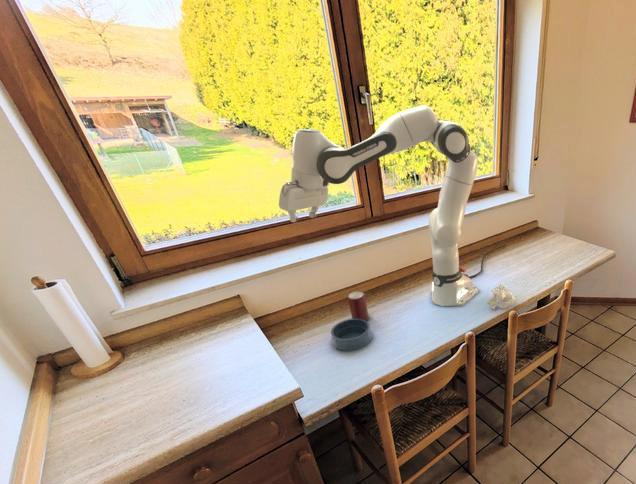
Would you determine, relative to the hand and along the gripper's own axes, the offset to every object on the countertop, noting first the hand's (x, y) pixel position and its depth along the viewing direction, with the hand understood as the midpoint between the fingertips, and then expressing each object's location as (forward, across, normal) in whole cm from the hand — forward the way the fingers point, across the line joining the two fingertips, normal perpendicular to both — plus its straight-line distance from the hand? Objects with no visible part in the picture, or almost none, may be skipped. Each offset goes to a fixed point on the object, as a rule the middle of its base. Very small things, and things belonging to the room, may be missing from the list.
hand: (303, 219), depth 126 cm
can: (+37, +8, -23) cm, 44 cm away
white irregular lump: (+20, +34, -74) cm, 84 cm away
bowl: (+38, -5, -28) cm, 47 cm away
